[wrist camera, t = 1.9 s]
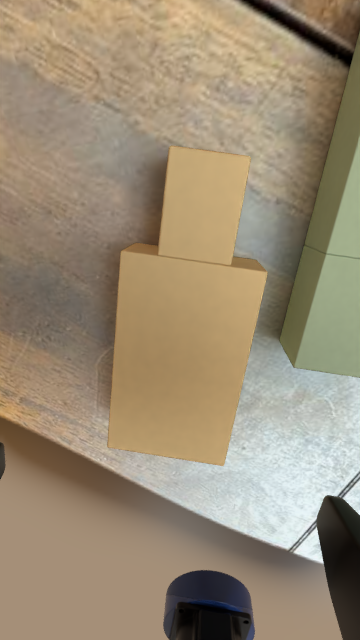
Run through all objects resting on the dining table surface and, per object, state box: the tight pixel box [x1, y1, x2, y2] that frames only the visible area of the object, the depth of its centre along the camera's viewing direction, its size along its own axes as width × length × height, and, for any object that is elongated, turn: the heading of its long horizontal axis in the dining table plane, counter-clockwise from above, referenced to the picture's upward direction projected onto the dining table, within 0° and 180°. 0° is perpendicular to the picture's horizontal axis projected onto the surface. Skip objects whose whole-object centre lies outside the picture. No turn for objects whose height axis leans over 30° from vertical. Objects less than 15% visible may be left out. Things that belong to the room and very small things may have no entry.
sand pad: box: [107, 146, 268, 466], centre depth 15 cm, size 14×6×3 cm, turn 173°
